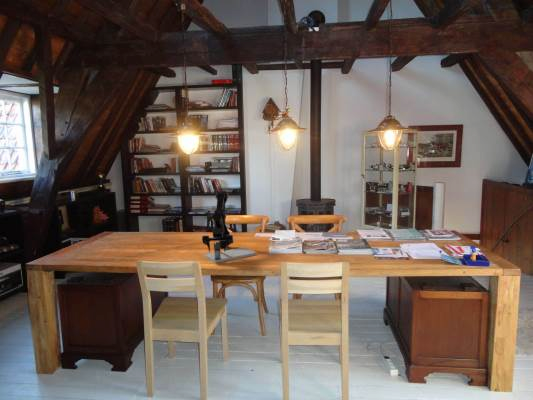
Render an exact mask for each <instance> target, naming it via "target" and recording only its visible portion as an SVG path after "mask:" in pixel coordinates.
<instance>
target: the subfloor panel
mask: <svg viewBox="0 0 533 400" xmlns="http://www.w3.org/2000/svg"><path fill="white" fill-rule="evenodd" d="M257 253H258V252H257V251H254V250H251V249H250V248H247V247H245V246H244V247H238V248H233V249H228V250H227V249H226V251H225V252H224V250H223V251H221V250H220V254H221V259H220V260H215V254H214V252H211V253H206V254H204V255H203V256H204V258H206V259H208V260H210V261H211V262H213V263H215V264H217V263H222V262H227V261H231V260H237V259H241V258H246V257H251V256H255V255H257Z"/></svg>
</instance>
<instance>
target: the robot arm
mask: <svg viewBox="0 0 533 400" xmlns="http://www.w3.org/2000/svg"><path fill="white" fill-rule="evenodd" d="M228 198H229V192H227V191H226V190H219V191H217V192H215V199H216V208H215V210H214V212H213V214H212V217H211V218H212V221H213V222H212V223H213V228H212V237H210V235H202V237H201V241H202V244H203V245H205V246H206V247H207V249H208V252H209V253H210V252H211V243H210V242H220V247H221V250H223V249H224V250H223V251H224V252H225V251H226V250H227V249H228V248H230V245H232V244H233V243H234V235H232V234H231V233H230V231H229V228H228V226H227V225H226V218H227V214H226V204H227V201H228Z"/></svg>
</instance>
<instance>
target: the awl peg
mask: <svg viewBox="0 0 533 400" xmlns="http://www.w3.org/2000/svg"><path fill="white" fill-rule="evenodd" d="M221 250H222V249H221V247H220V242H219V241H214V242H213V251H214V252H213V253H214V254H215V260H220V259H221V254H220V252H221Z"/></svg>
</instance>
